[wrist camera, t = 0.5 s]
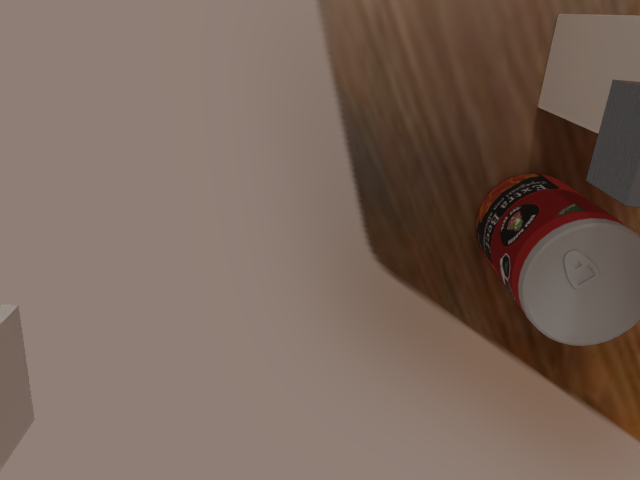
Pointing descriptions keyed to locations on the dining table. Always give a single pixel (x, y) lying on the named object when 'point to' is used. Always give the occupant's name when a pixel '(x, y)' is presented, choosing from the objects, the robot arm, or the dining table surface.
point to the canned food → (562, 259)
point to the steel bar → (619, 145)
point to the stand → (589, 65)
